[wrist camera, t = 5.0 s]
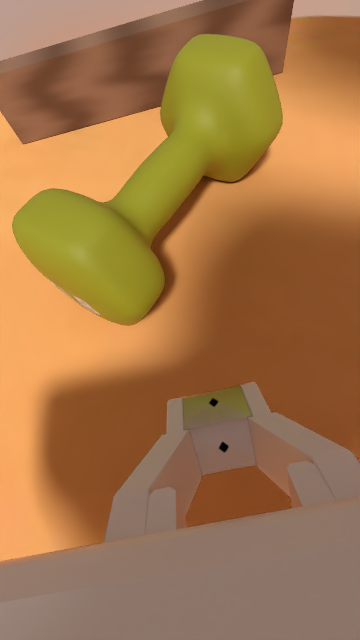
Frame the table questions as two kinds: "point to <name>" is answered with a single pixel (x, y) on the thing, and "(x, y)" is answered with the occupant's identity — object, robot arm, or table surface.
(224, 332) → the table surface
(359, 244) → the table surface
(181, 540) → the robot arm
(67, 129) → the walnut board
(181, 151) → the dumbbell
